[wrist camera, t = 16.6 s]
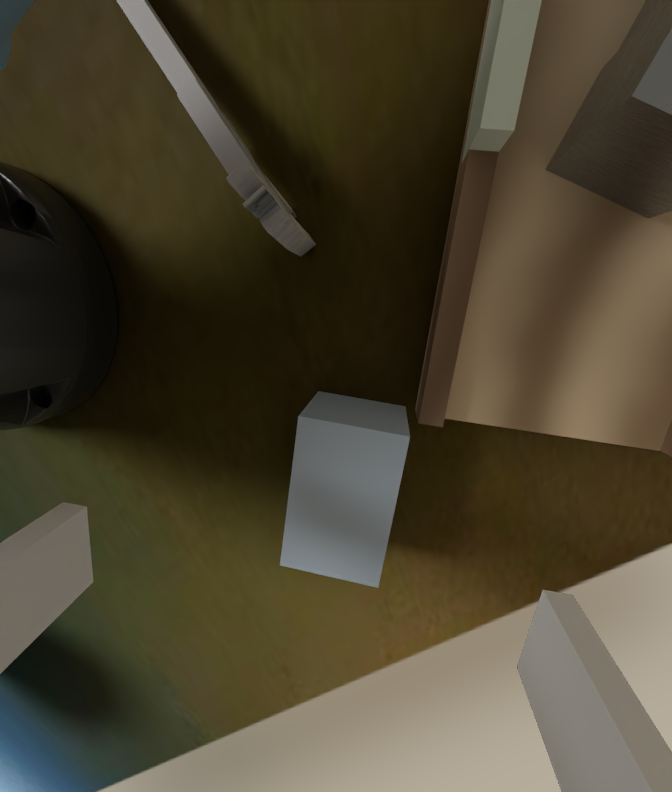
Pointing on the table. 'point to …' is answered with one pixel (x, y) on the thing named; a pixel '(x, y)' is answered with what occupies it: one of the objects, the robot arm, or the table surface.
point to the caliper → (218, 131)
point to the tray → (501, 73)
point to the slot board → (552, 270)
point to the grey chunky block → (642, 17)
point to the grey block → (344, 486)
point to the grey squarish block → (627, 124)
